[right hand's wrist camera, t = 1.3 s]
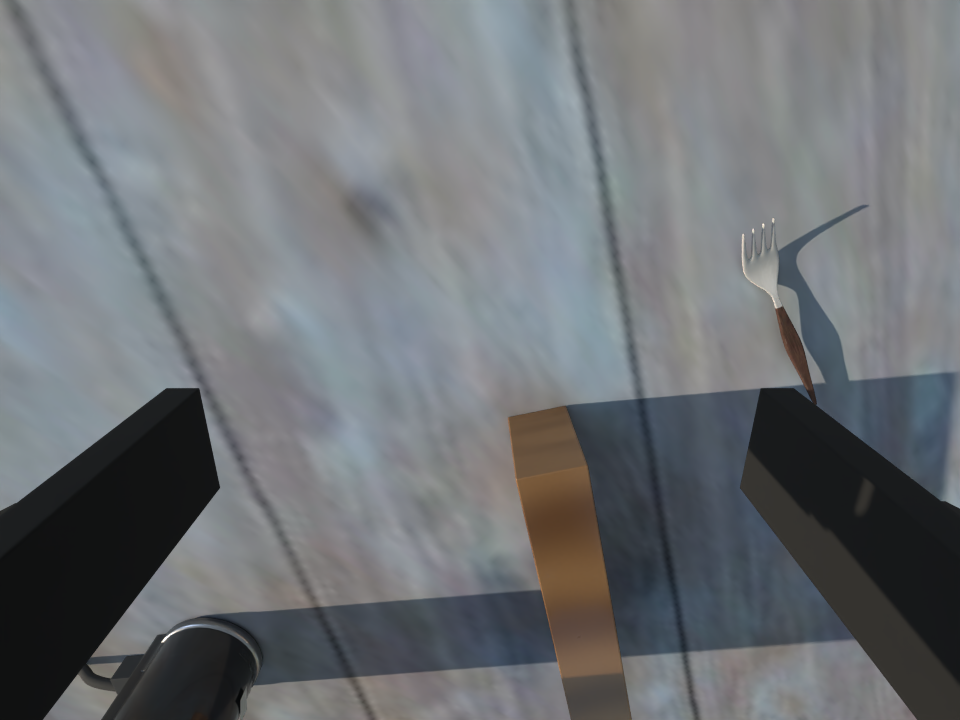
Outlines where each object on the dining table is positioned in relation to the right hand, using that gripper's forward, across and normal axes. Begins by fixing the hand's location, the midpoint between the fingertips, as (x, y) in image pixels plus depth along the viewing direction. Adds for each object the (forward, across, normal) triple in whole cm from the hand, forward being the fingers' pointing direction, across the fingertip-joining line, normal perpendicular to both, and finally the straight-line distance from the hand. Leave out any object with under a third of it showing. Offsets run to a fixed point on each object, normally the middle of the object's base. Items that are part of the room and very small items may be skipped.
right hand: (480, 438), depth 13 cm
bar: (+27, +7, -26) cm, 38 cm away
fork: (+28, +22, -5) cm, 36 cm away
